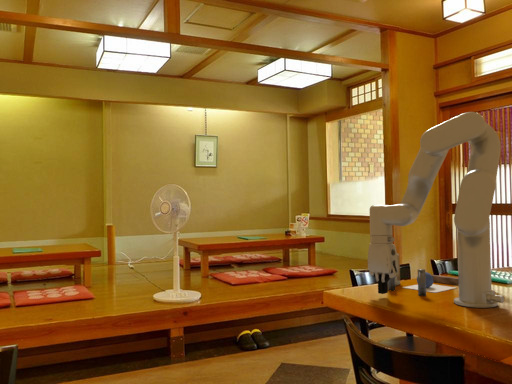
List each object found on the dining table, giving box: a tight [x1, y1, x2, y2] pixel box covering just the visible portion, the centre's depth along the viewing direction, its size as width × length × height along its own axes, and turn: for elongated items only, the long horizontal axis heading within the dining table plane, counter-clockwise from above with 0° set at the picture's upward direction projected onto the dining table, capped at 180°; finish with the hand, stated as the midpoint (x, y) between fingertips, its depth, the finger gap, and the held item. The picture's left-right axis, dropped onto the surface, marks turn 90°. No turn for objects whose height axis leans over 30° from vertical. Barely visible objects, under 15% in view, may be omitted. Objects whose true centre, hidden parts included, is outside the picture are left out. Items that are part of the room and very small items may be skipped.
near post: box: [417, 268, 427, 297], centre depth 165 cm, size 3×3×9 cm
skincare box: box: [395, 253, 401, 287], centre depth 188 cm, size 6×4×12 cm
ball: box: [416, 271, 434, 288], centre depth 179 cm, size 6×6×6 cm
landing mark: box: [402, 283, 457, 294], centre depth 178 cm, size 14×14×1 cm
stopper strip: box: [431, 274, 459, 286], centre depth 187 cm, size 16×2×2 cm, turn 36°
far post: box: [388, 277, 396, 292], centre depth 176 cm, size 3×3×9 cm
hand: (382, 293), depth 163 cm, fingers closed
